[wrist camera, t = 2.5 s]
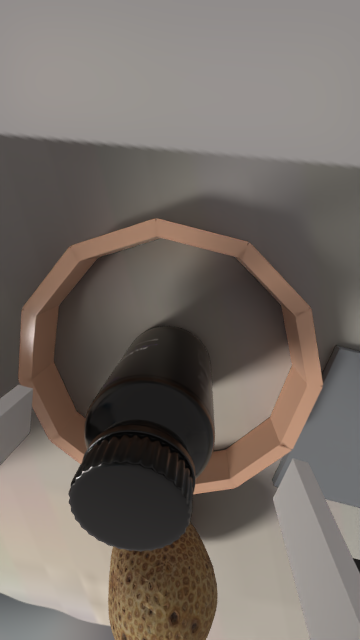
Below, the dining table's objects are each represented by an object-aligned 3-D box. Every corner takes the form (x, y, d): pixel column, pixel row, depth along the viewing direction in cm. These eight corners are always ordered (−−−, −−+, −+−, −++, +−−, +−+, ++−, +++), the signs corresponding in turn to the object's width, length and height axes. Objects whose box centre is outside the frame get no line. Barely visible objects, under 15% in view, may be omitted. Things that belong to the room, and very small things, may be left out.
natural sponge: (207, 553, 27) (211, 721, 18) (125, 542, 28) (86, 699, 18) (218, 490, 25) (230, 647, 15) (127, 478, 25) (82, 623, 15)
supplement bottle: (138, 312, 20) (54, 409, 8) (221, 337, 20) (250, 467, 9) (119, 386, 22) (32, 543, 11) (195, 408, 22) (191, 589, 11)
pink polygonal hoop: (36, 432, 24) (13, 458, 21) (55, 194, 18) (27, 185, 15) (251, 487, 24) (258, 520, 21) (348, 269, 18) (376, 274, 15)
